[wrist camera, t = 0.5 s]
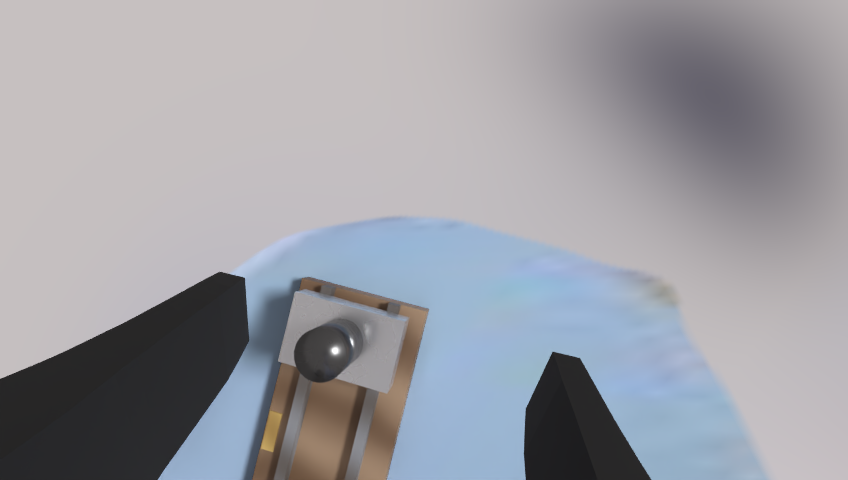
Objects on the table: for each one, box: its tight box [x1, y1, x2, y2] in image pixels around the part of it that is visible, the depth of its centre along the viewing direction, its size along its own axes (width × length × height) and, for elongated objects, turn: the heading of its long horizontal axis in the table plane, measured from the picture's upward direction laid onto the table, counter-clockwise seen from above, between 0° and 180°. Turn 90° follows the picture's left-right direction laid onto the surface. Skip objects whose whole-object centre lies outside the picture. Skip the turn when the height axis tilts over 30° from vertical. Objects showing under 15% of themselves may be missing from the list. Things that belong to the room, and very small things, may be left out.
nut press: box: [252, 277, 429, 480], centre depth 32 cm, size 19×10×6 cm, turn 166°
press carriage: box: [278, 289, 410, 394], centre depth 29 cm, size 5×8×6 cm, turn 76°
